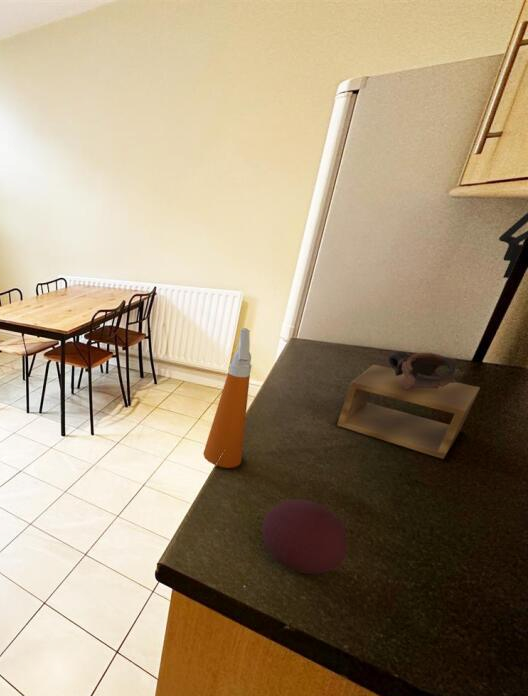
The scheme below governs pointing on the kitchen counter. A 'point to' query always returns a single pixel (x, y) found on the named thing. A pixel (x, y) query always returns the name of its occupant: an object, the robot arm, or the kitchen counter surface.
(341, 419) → the tan open box
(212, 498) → the kitchen counter surface
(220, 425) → the spray bottle
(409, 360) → the pottery mug
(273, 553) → the decorative ball
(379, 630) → the kitchen counter surface
